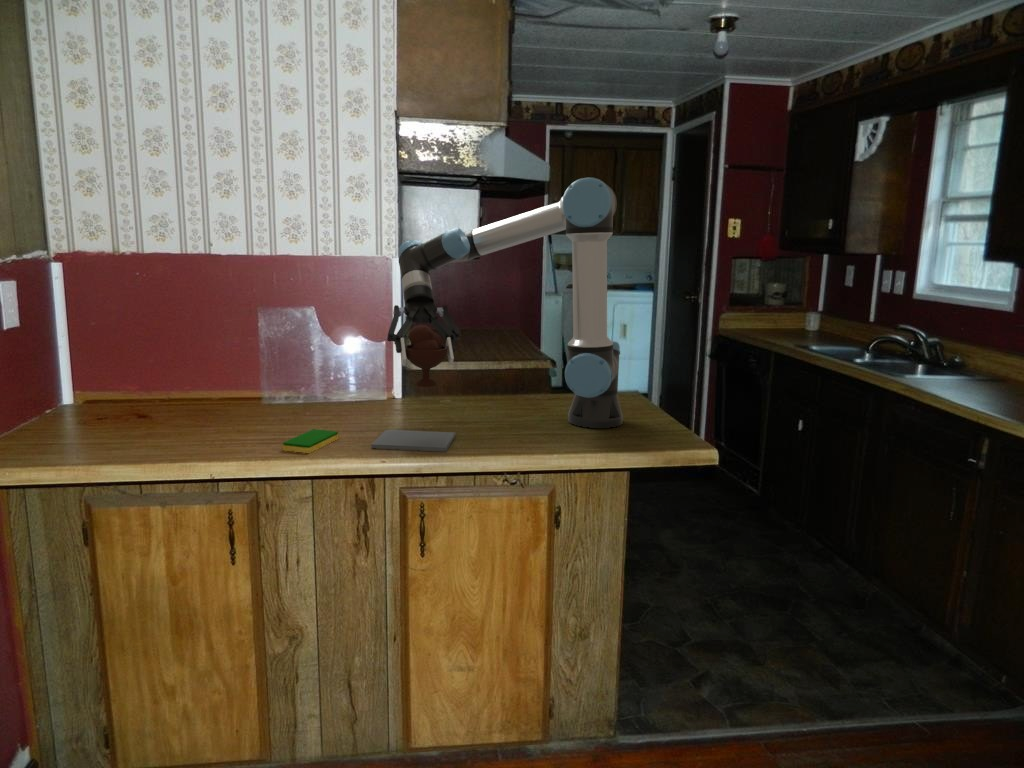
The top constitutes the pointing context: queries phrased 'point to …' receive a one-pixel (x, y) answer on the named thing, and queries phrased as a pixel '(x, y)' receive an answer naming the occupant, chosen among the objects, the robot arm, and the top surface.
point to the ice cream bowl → (425, 352)
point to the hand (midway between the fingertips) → (428, 362)
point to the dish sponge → (310, 441)
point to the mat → (414, 440)
